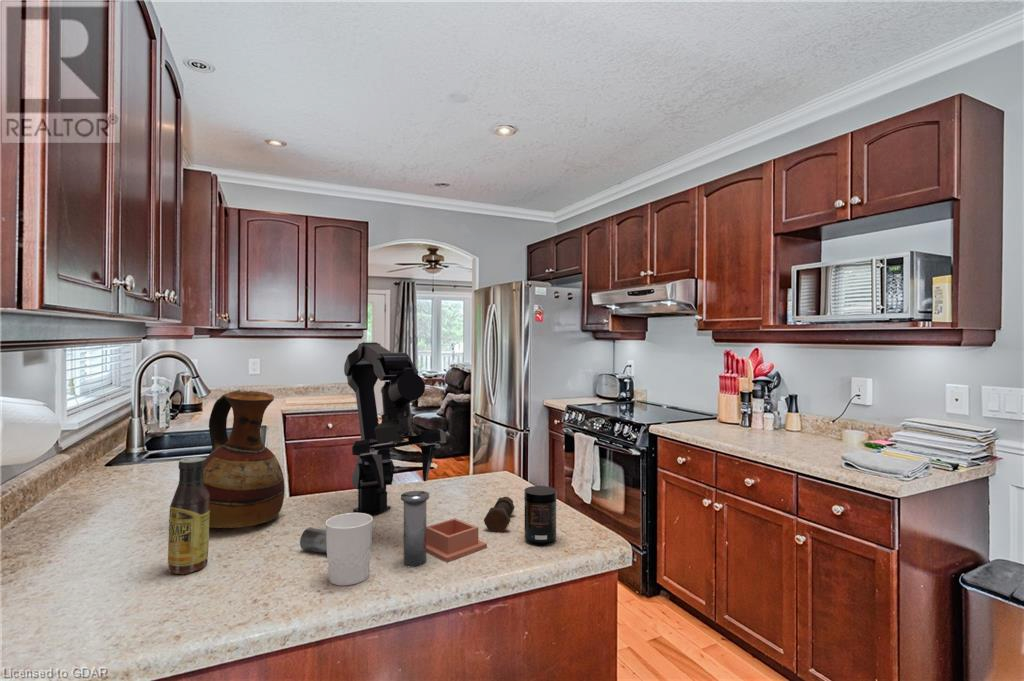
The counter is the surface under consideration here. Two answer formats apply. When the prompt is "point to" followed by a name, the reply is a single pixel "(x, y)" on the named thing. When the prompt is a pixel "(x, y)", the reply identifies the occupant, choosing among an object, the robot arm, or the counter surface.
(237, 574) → the counter surface
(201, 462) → the sauce bottle
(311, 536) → the pin
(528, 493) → the supplement container
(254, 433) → the ceramic pitcher
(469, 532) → the square planter with saucer
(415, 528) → the steel pin
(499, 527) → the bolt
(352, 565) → the white cup
